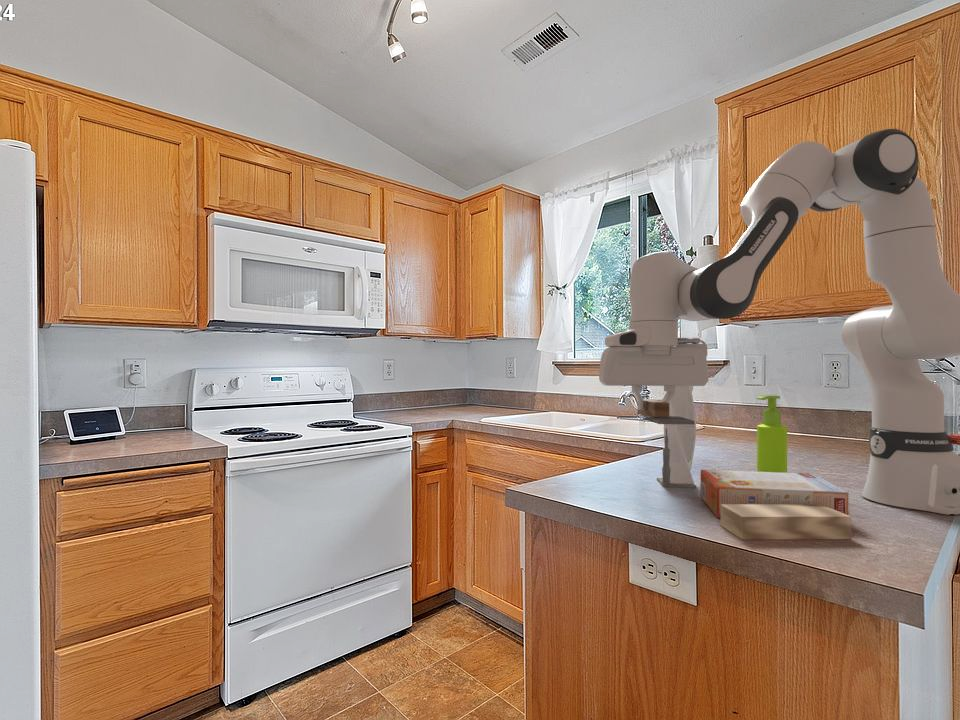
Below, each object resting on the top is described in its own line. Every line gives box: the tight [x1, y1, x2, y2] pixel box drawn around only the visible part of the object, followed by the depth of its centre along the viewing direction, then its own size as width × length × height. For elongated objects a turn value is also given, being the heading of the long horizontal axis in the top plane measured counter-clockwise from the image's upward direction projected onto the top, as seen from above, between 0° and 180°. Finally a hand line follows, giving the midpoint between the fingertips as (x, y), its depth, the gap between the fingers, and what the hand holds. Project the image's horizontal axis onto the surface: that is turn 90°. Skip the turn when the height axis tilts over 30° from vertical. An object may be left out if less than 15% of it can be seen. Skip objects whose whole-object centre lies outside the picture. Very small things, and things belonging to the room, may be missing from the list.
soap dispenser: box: [755, 394, 788, 473], centre depth 116 cm, size 6×7×20 cm
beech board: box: [720, 504, 852, 540], centre depth 84 cm, size 17×7×4 cm, turn 91°
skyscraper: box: [656, 386, 697, 489], centre depth 118 cm, size 8×8×28 cm
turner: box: [637, 398, 694, 425], centre depth 97 cm, size 17×6×3 cm, turn 1°
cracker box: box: [699, 469, 850, 519], centre depth 96 cm, size 14×6×21 cm
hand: (653, 409), depth 100 cm, fingers closed on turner, 3 cm apart
